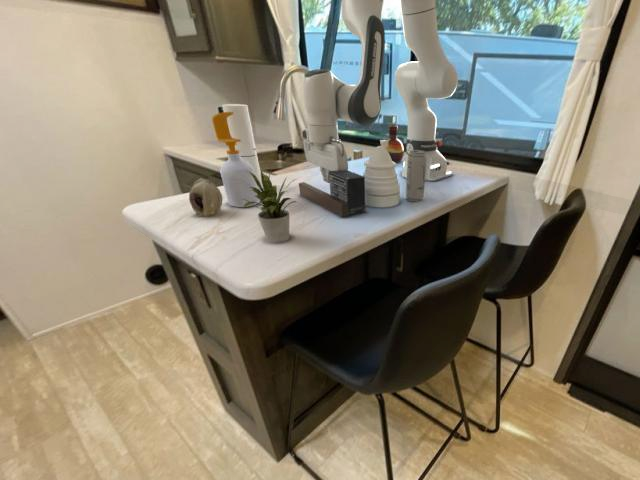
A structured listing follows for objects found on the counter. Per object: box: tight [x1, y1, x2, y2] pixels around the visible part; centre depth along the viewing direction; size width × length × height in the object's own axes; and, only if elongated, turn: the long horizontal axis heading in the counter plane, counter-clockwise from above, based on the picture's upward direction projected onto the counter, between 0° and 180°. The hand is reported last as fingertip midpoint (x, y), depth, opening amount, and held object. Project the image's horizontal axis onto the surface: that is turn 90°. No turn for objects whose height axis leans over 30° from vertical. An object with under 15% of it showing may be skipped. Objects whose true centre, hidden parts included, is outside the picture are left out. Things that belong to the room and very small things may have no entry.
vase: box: [385, 124, 405, 164], centre depth 155 cm, size 11×11×15 cm
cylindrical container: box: [221, 103, 264, 190], centre depth 107 cm, size 7×7×25 cm
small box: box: [329, 169, 366, 216], centre depth 96 cm, size 11×6×10 cm, turn 39°
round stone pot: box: [188, 177, 223, 217], centre depth 90 cm, size 9×8×10 cm
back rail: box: [298, 181, 349, 218], centre depth 100 cm, size 2×26×4 cm, turn 41°
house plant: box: [234, 169, 299, 244], centre depth 75 cm, size 14×14×16 cm
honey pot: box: [362, 139, 401, 208], centre depth 102 cm, size 13×13×18 cm
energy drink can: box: [405, 150, 427, 202], centre depth 106 cm, size 6×6×15 cm
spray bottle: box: [211, 111, 261, 208], centre depth 93 cm, size 9×9×25 cm
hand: (328, 182), depth 105 cm, fingers closed
